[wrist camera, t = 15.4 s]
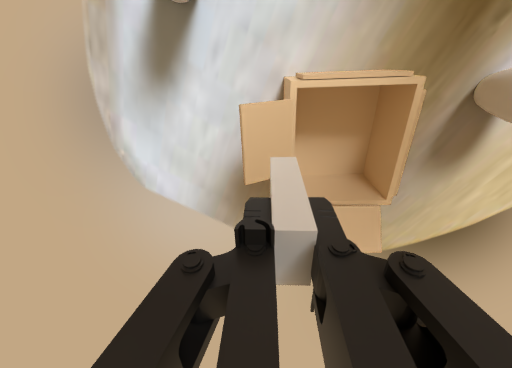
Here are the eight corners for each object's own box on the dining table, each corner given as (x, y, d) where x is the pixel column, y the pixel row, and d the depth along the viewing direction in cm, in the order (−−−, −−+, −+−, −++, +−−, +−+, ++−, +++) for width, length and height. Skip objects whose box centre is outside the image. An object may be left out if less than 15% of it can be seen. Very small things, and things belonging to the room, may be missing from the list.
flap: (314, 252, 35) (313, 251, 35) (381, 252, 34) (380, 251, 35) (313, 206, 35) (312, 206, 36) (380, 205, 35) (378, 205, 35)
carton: (284, 72, 36) (290, 75, 28) (391, 68, 36) (433, 70, 27) (282, 178, 45) (286, 206, 36) (368, 176, 44) (394, 204, 35)
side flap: (240, 105, 25) (239, 104, 26) (245, 185, 30) (244, 183, 30) (293, 99, 28) (291, 98, 28) (290, 173, 33) (288, 172, 33)
